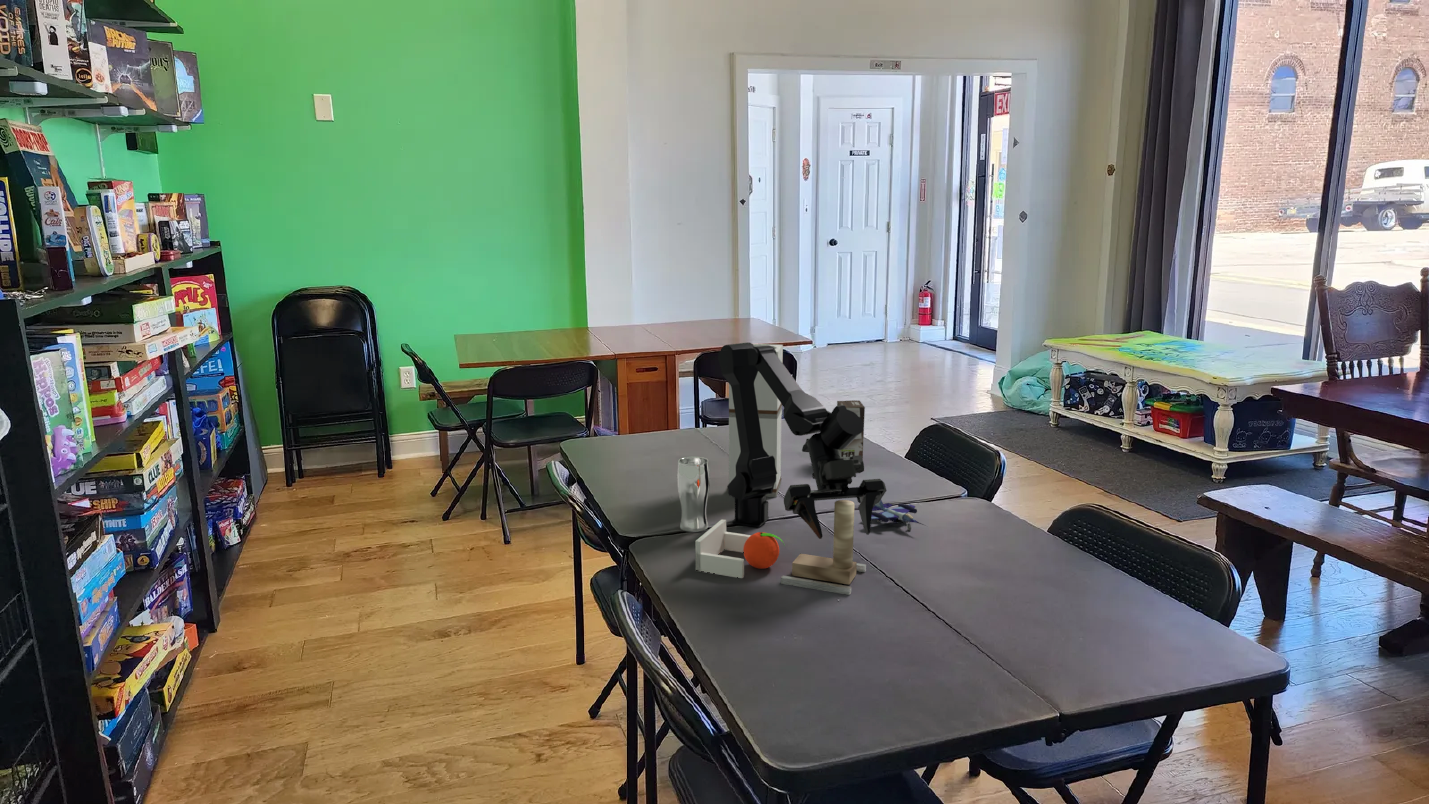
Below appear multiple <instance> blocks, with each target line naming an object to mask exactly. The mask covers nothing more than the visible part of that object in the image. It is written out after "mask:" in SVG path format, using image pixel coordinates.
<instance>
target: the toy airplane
mask: <svg viewBox="0 0 1429 804" xmlns="http://www.w3.org/2000/svg"><path fill="white" fill-rule="evenodd" d="M897 506H898V507H894V508H891V507H893V504H892V503H889V502H888V503H887V502H886V503H884V502H883V501H882V499H881V500H880V502H879V503H877V504H875V506H874V507H873V509H872V518H871V520H876V522H877V523H881V522H884V523H888V522H889V521H891V522H893V523H895V524H898V523H899V524H905V523H906V529H907V531H909V532H911V531H912V525H911V523H915V524H919V525H923V526H926V527H927V525H926V524H923V523H921V522H919V521H917V520H916V519H914V517H913V516H912V514H917V513H918V509H917V508H916V506H915V505H913V504H907V503H906V504H905V503H898V504H897ZM876 511H881V512H876ZM908 524H909V525H908Z"/></svg>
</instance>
